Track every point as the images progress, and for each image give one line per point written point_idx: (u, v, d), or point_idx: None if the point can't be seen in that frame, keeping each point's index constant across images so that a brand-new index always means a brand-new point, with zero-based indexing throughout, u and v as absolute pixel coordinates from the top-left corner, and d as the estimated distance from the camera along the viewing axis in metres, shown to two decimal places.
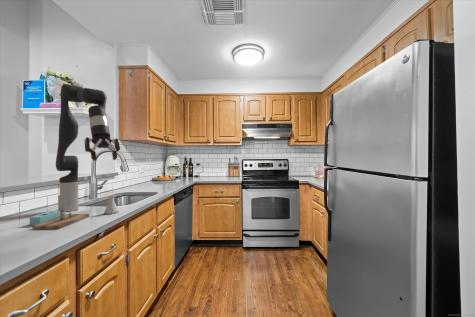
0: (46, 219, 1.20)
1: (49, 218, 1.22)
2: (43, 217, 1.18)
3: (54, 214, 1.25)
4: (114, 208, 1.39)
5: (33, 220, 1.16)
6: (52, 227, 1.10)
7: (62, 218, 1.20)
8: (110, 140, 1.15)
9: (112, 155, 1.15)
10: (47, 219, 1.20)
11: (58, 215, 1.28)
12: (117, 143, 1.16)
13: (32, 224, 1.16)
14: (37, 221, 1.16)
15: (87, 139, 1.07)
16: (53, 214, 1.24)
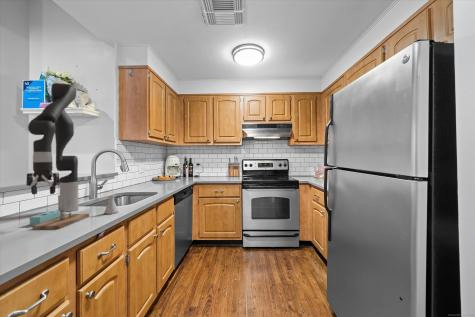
0: (46, 219, 1.20)
1: (49, 218, 1.22)
2: (43, 217, 1.18)
3: (54, 214, 1.25)
4: (114, 208, 1.39)
5: (33, 220, 1.16)
6: (52, 227, 1.10)
7: (62, 218, 1.20)
8: (48, 175, 1.19)
9: None
10: (47, 219, 1.20)
11: (58, 215, 1.28)
12: (54, 178, 1.19)
13: (32, 224, 1.16)
14: (37, 221, 1.16)
15: (27, 175, 1.18)
16: (53, 214, 1.24)
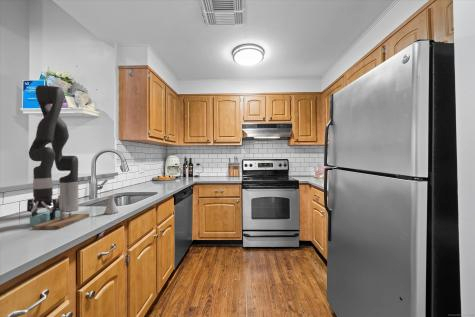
0: (46, 219, 1.20)
1: (49, 218, 1.22)
2: (43, 217, 1.18)
3: None
4: (114, 208, 1.39)
5: (33, 220, 1.16)
6: (52, 227, 1.10)
7: (62, 218, 1.20)
8: (48, 201, 1.20)
9: None
10: (47, 219, 1.20)
11: (58, 215, 1.28)
12: (54, 204, 1.20)
13: (32, 224, 1.16)
14: (37, 221, 1.16)
15: (28, 201, 1.20)
16: None
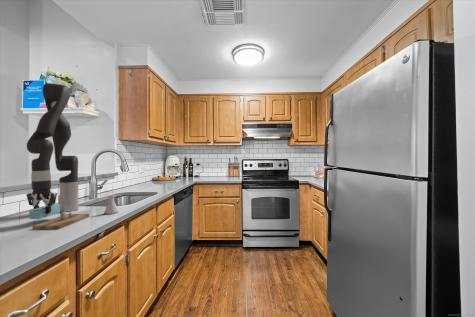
0: None
1: None
2: (43, 211, 1.19)
3: (54, 208, 1.26)
4: (114, 208, 1.39)
5: (33, 214, 1.17)
6: (52, 227, 1.10)
7: (62, 218, 1.20)
8: (46, 194, 1.20)
9: None
10: None
11: (58, 209, 1.28)
12: (51, 198, 1.20)
13: (32, 217, 1.17)
14: (36, 215, 1.17)
15: (27, 195, 1.20)
16: (53, 208, 1.25)
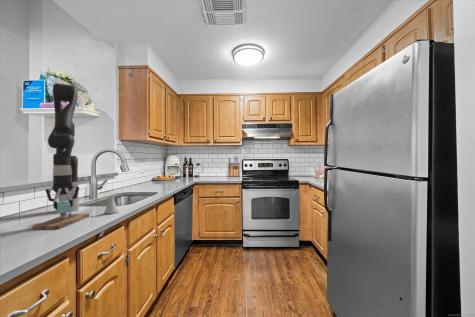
0: None
1: None
2: None
3: None
4: (114, 208, 1.39)
5: (62, 207, 1.17)
6: (52, 227, 1.10)
7: (62, 218, 1.20)
8: (70, 187, 1.22)
9: (69, 202, 1.23)
10: None
11: None
12: (76, 191, 1.23)
13: (60, 212, 1.16)
14: (66, 208, 1.18)
15: (47, 191, 1.16)
16: None
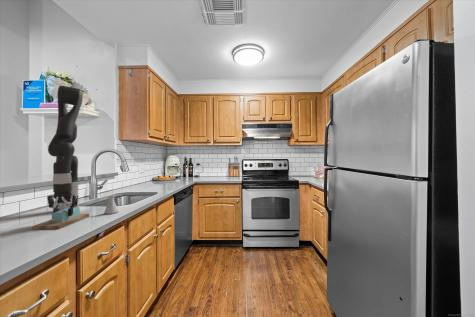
0: (67, 216, 1.20)
1: None
2: (65, 213, 1.18)
3: (74, 211, 1.25)
4: (114, 208, 1.39)
5: (55, 216, 1.16)
6: (52, 227, 1.10)
7: None
8: (67, 196, 1.20)
9: None
10: (68, 216, 1.21)
11: (78, 212, 1.28)
12: (73, 200, 1.20)
13: (54, 220, 1.16)
14: (59, 217, 1.16)
15: (48, 197, 1.20)
16: (73, 211, 1.25)
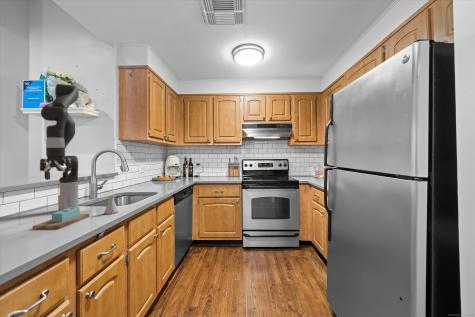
0: (67, 216, 1.20)
1: (70, 215, 1.22)
2: (65, 213, 1.18)
3: (74, 211, 1.25)
4: (114, 208, 1.39)
5: (55, 216, 1.16)
6: (52, 227, 1.10)
7: None
8: (61, 161, 1.20)
9: None
10: (68, 216, 1.21)
11: (78, 212, 1.28)
12: (66, 164, 1.20)
13: (54, 220, 1.16)
14: (59, 217, 1.16)
15: (41, 161, 1.20)
16: (73, 211, 1.25)
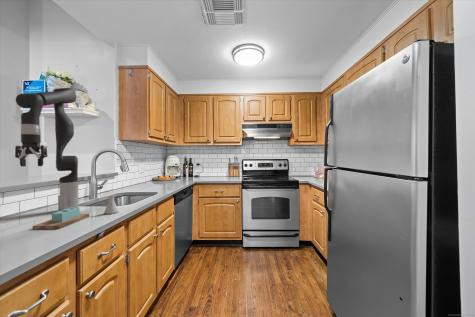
0: (67, 216, 1.20)
1: (70, 215, 1.22)
2: (65, 213, 1.18)
3: (74, 211, 1.25)
4: (114, 208, 1.39)
5: (55, 216, 1.16)
6: (52, 227, 1.10)
7: None
8: (36, 147, 1.20)
9: None
10: (68, 216, 1.21)
11: (78, 212, 1.28)
12: (41, 150, 1.20)
13: (54, 220, 1.16)
14: (59, 217, 1.16)
15: (16, 147, 1.20)
16: (73, 211, 1.25)
